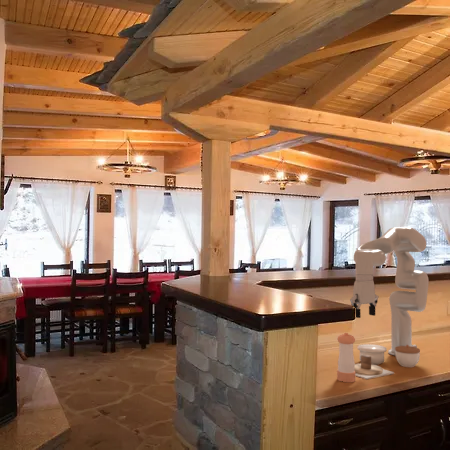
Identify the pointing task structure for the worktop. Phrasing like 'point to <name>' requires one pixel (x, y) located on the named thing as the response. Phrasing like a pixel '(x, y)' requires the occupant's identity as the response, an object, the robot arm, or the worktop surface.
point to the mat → (385, 372)
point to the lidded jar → (407, 355)
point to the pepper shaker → (346, 358)
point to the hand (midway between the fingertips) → (364, 316)
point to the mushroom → (373, 352)
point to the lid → (367, 367)
